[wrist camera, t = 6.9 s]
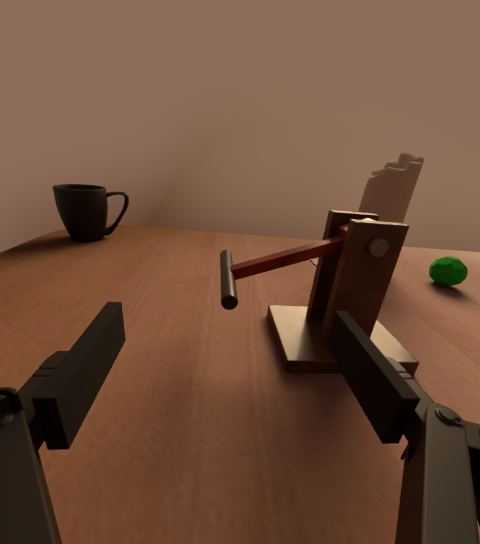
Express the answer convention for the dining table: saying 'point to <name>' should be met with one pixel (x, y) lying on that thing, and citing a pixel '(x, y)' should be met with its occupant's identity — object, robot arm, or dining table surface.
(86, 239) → the mug
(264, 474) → the dining table surface
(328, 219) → the rod stand
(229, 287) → the red lever
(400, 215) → the candle
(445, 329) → the dining table surface
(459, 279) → the polyhedron
